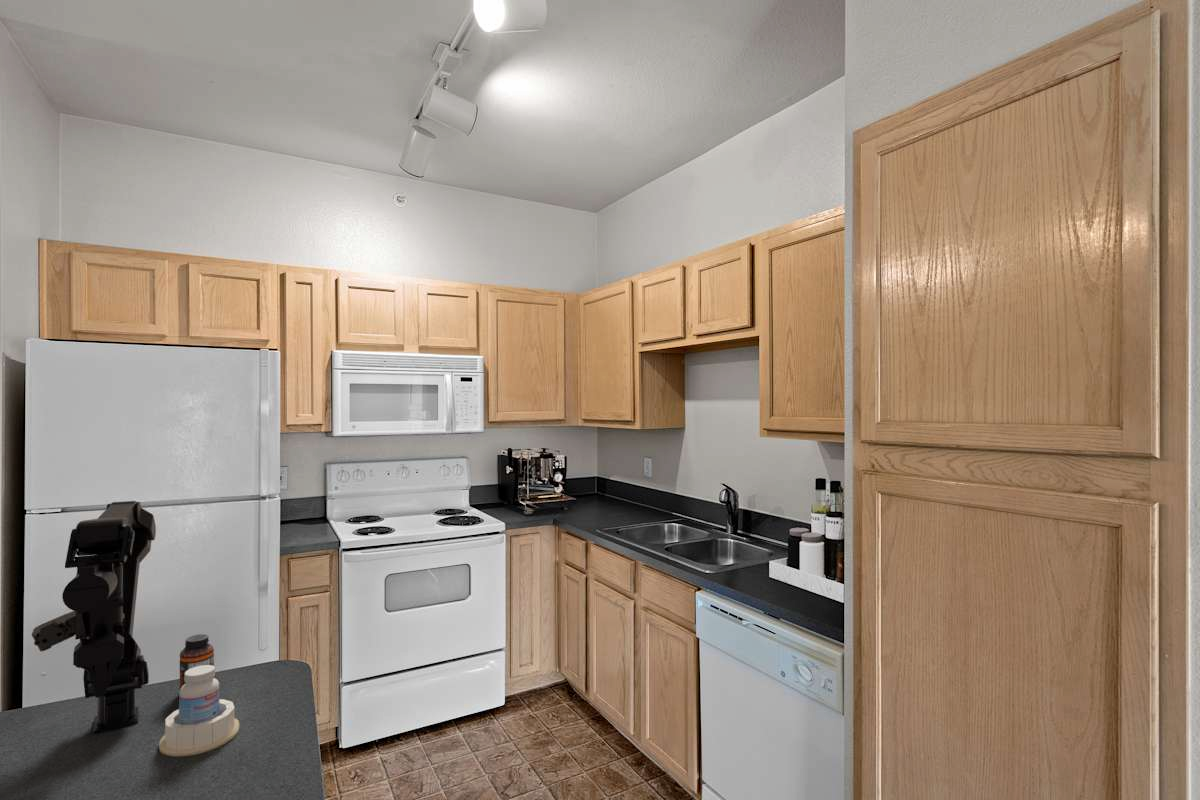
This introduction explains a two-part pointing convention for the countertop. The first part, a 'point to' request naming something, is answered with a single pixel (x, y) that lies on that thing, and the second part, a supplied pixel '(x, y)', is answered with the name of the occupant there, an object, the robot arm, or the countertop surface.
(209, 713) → the pill bottle
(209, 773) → the countertop surface
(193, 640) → the supplement bottle
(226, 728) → the socket dock
